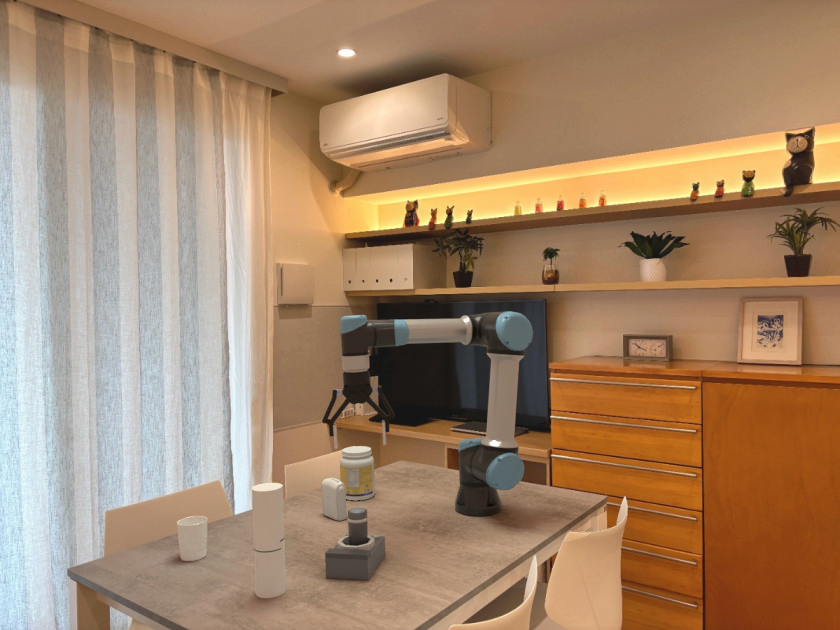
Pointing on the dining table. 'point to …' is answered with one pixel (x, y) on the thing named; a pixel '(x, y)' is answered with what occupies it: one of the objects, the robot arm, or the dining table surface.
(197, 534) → the white cup
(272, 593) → the cylindrical container
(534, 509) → the dining table surface
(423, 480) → the dining table surface
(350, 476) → the supplement tub
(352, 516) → the lens
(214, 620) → the dining table surface
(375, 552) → the camera body
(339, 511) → the photo printer
